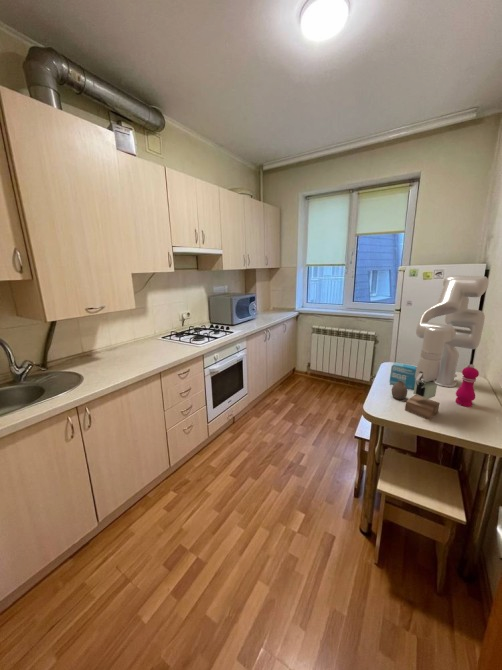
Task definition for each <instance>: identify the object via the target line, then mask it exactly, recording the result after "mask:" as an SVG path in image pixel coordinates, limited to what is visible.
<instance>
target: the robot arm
mask: <svg viewBox="0 0 502 670" xmlns="http://www.w3.org/2000/svg"><path fill="white" fill-rule="evenodd" d="M442 284H443V285H442V286H443V288H442V290H441V293H440V295H439V296H440V297H439V299H438V302H437V303H436V304H434V305H432V306H431V307H429V308H428V309H427V310H425V311H424V312H423V313H422V314H421V316H420V319H419V321H418V323H417V326H416V330H415V334H416V336H417V337H418V338H419V339H422V345H421V350H420V351H421V352H420V356H419V360H418V362H417V366H416V367H417V369H416V373H415V382H416V384H417V385H416V386H417V389H416V394H418V395H420V396H424V392H425V388H424V387H425V384H426V382H428V381H431V382H433V383H436V384H437V386H439V387H440V386H441V387H445V388H455V387H457V381H455V378H457V376H458V374H456V372H457V367H458V362H459V357H460V354H459V351H458V349H457V348H463V349H469V350H475V349H477V348H478V347H479V346H480V343H481V340H482V334H483V329H484V324H485V313H484V312H483V310H479V309H469V308H468V307H469V302H470V299H469V298H480V297H482V295H484V293H486V291H487V289H488V288H489V278H488V277H487V276H484V275H449V276H446V277H445V278H444V279H443V282H442ZM442 316H445V317H444V318H445V319H444V322H445V324H442V323H434V322H429V321H431V320H433V319H434V318H437V317H442ZM456 327H460V328H456ZM461 328H462V329H461ZM463 328H465V329H463ZM421 379H424V380H421ZM421 381H422V382H423V384H422V383H421Z"/></svg>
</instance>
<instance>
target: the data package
mask: <svg viewBox="0 0 502 670" xmlns="http://www.w3.org/2000/svg"><path fill="white" fill-rule="evenodd" d="M416 369H417V366H416V365H415V366H414V365H412V364H405V363H399V362H393V364H392V365H391V368H390V376H389V384H390V385H392V386H393V385H394V384H396V383H397V382H398V381H403V382H404V384H405V386H406V387H407V390H414V386H415V373H416Z"/></svg>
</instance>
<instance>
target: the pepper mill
mask: <svg viewBox="0 0 502 670" xmlns="http://www.w3.org/2000/svg"><path fill="white" fill-rule="evenodd" d="M461 373H462V378H461V379H462V383H461V385H459V387H458V388H457V390H456V392H455V395H456V398H455V403H456V404H458V405H460V406H462V407H466V408H467V407H469V408H470V407H472V406H473V401H474V400H475V399H476V393H475V390H474V384H475V383H476V382H477V381H476V380H477V378H478V377H479V375H480V372H479V370H478V369H477V368H475V365H474V364H472V363H471V364H469V365H468V366H467V367H464V368H463V369H462V371H461Z"/></svg>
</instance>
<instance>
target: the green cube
mask: <svg viewBox="0 0 502 670" xmlns="http://www.w3.org/2000/svg"><path fill="white" fill-rule="evenodd" d="M421 380H424V379H421ZM421 383H422V384H423V382H422V381H421ZM416 385H417V384H416V382H415V386H414V389H413V395H418V394H416V389H417V386H416ZM424 388H425V392H424V396H420V395H418V396H420V397H423V398H425V399H432V398H435V397H436V394H437V389H438V385H437V384H436V383H433V382H431V381H428V382H426V384H425V387H424Z"/></svg>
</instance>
